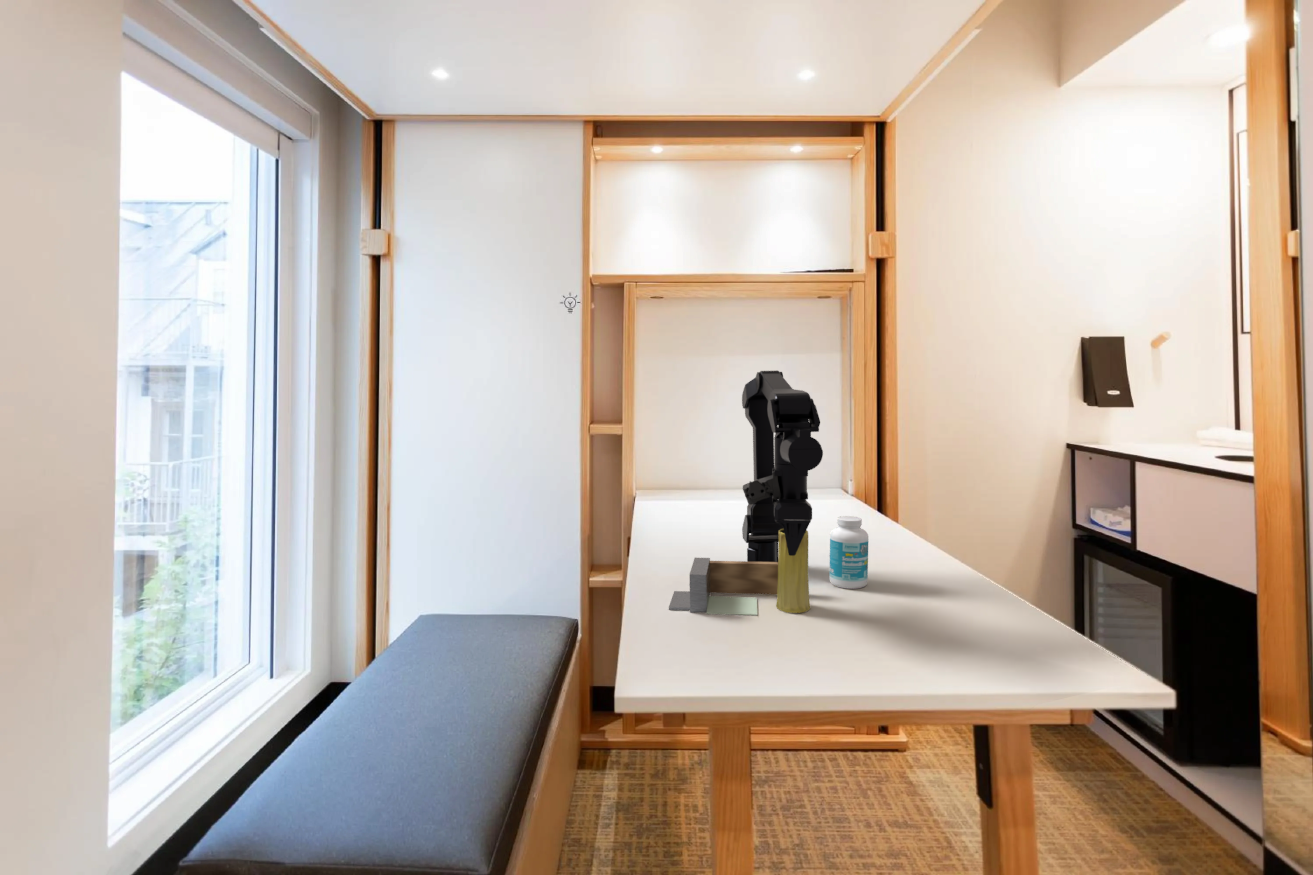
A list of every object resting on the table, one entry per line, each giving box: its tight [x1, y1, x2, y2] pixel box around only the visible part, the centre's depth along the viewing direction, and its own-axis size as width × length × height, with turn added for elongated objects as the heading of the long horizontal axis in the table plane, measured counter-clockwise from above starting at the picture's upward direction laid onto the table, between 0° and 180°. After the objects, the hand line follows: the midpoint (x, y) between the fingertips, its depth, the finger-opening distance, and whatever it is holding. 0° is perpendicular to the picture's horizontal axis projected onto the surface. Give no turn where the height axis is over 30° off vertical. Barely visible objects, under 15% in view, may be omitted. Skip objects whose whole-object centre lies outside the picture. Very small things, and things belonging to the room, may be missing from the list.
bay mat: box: [705, 595, 758, 616], centre depth 123 cm, size 9×9×1 cm
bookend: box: [668, 557, 711, 614], centre depth 125 cm, size 7×11×7 cm, turn 172°
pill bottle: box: [828, 515, 869, 590], centre depth 133 cm, size 8×7×14 cm
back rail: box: [710, 560, 778, 596], centre depth 130 cm, size 20×2×6 cm, turn 82°
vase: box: [775, 529, 811, 614], centre depth 121 cm, size 6×6×14 cm
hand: (790, 548), depth 120 cm, fingers open, 9 cm apart
